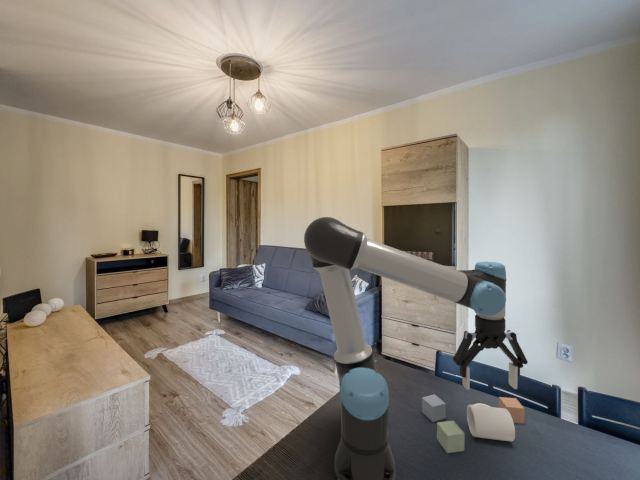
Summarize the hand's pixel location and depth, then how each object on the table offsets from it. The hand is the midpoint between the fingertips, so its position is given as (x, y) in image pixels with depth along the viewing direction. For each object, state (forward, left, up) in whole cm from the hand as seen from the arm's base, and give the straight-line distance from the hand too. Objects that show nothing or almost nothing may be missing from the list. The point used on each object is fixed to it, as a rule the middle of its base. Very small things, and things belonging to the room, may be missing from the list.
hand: (489, 386), depth 82 cm
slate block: (-13, +7, -14) cm, 20 cm away
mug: (0, +1, -14) cm, 14 cm away
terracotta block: (+11, +6, -14) cm, 18 cm away
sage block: (-13, -5, -14) cm, 20 cm away
